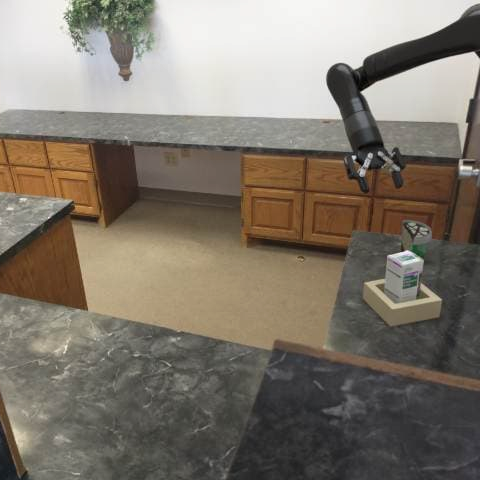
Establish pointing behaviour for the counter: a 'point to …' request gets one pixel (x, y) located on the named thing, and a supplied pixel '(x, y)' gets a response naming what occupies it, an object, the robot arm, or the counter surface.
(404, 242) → the food container
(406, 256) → the syrup box
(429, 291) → the frame
